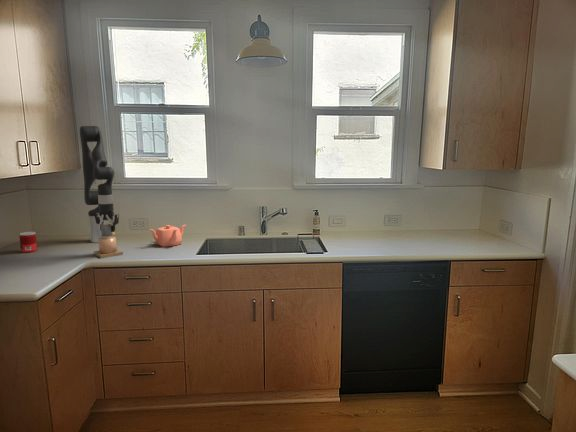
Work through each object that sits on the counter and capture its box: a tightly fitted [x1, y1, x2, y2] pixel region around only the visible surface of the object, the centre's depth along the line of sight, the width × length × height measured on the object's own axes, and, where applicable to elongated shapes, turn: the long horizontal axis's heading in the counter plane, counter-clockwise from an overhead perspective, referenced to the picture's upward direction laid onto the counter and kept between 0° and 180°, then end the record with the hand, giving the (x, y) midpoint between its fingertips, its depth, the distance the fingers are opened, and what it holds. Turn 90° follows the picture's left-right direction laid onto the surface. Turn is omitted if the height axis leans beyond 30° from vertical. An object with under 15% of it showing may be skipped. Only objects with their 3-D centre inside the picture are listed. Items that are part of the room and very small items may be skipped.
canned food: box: [18, 231, 38, 254], centre depth 219 cm, size 8×8×11 cm
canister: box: [93, 235, 124, 259], centre depth 216 cm, size 12×12×12 cm
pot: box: [148, 224, 187, 248], centre depth 240 cm, size 18×17×12 cm
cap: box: [101, 223, 116, 236], centre depth 215 cm, size 7×6×6 cm
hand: (107, 231), depth 216 cm, fingers closed on cap, 5 cm apart
